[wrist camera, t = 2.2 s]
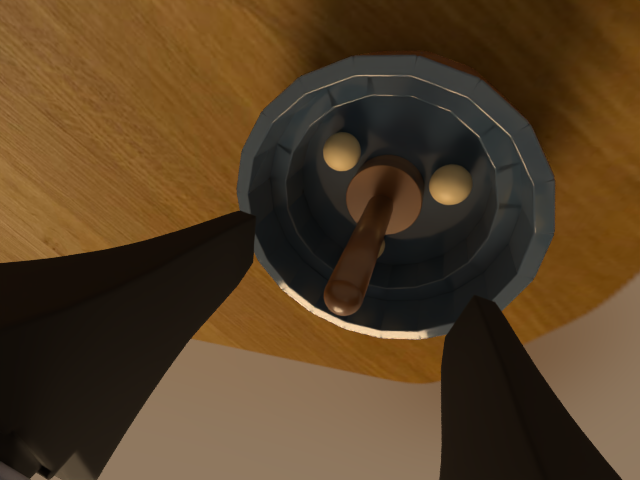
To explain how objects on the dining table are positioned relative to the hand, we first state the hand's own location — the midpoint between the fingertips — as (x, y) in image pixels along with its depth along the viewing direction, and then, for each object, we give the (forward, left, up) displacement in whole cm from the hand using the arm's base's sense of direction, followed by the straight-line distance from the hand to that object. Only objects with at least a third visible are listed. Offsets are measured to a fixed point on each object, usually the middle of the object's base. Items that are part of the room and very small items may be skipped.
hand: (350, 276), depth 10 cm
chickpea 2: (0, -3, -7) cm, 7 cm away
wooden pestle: (0, 0, -8) cm, 8 cm away
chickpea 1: (+3, +1, -7) cm, 7 cm away
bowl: (0, 0, -8) cm, 8 cm away
